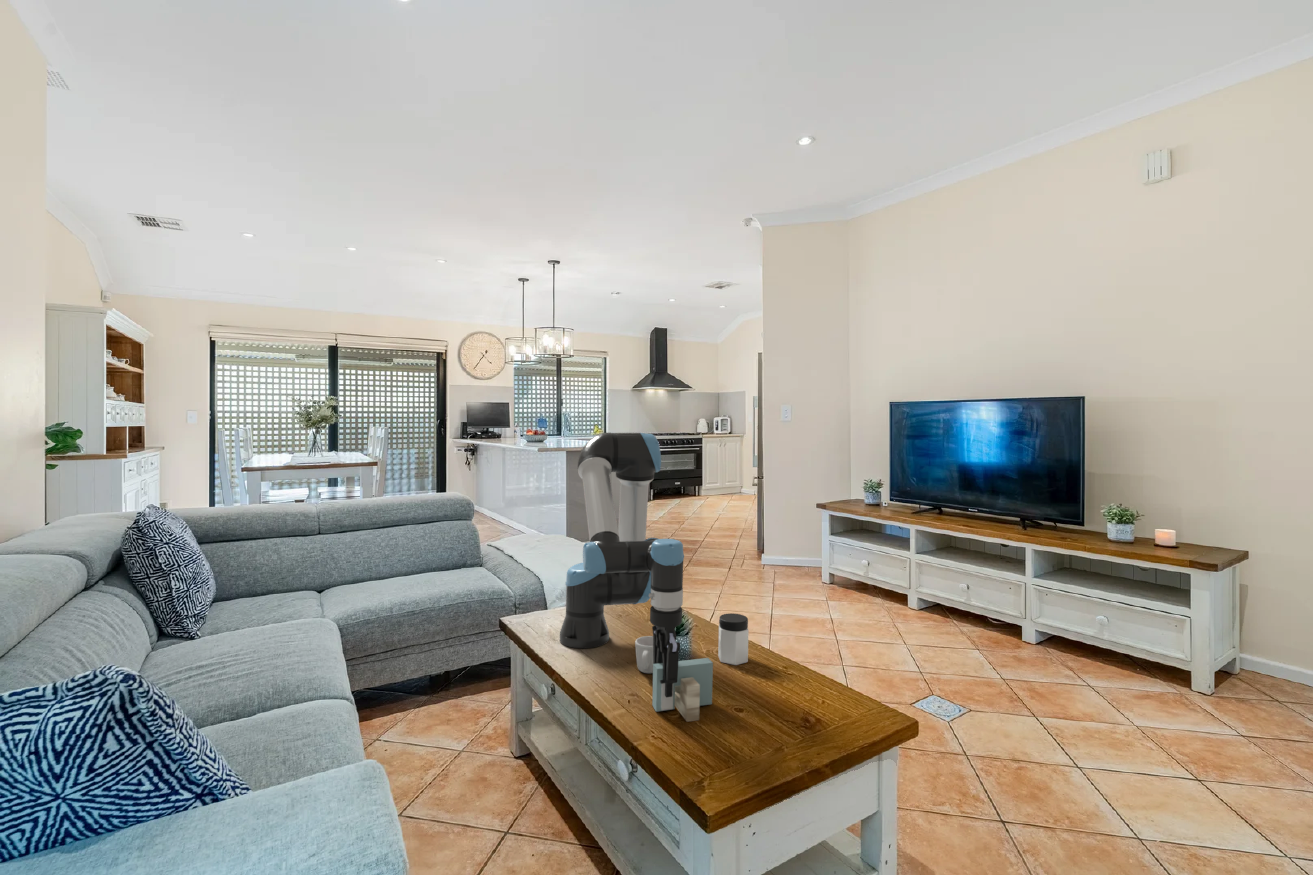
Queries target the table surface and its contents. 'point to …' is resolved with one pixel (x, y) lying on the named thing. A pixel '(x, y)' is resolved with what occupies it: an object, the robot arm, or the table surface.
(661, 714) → the table surface
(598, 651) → the table surface
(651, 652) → the cup
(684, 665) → the teal board
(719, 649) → the jar
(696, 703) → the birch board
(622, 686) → the table surface
